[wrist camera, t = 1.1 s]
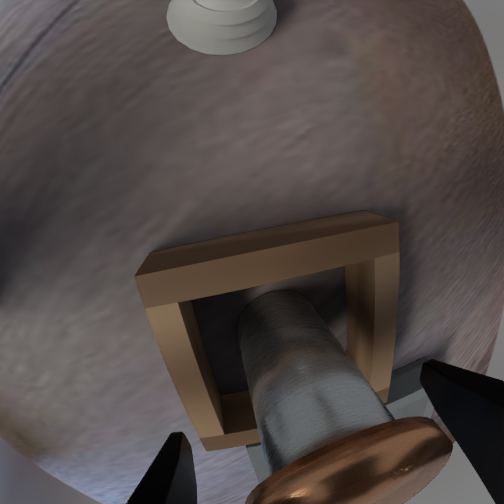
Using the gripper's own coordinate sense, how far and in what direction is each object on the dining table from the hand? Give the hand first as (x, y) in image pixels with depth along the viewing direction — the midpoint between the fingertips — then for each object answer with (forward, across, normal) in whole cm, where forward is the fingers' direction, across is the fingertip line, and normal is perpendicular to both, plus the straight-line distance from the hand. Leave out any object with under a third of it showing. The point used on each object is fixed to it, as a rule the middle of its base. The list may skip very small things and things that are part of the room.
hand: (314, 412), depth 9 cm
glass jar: (+6, 0, 0) cm, 6 cm away
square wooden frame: (+6, 0, 0) cm, 6 cm away
